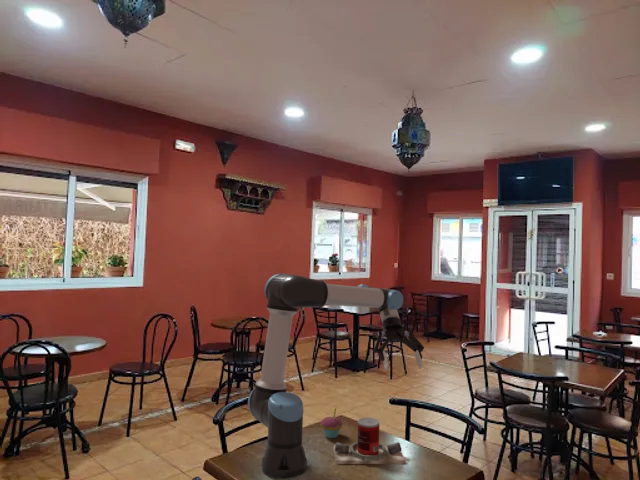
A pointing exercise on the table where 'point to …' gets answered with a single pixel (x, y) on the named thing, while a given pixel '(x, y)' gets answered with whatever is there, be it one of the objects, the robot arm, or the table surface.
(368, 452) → the canned food
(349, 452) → the plate
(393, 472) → the table surface
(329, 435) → the cupcake
